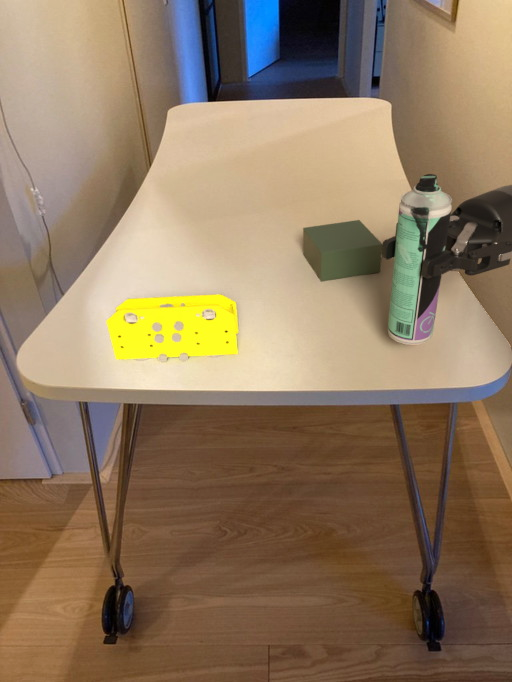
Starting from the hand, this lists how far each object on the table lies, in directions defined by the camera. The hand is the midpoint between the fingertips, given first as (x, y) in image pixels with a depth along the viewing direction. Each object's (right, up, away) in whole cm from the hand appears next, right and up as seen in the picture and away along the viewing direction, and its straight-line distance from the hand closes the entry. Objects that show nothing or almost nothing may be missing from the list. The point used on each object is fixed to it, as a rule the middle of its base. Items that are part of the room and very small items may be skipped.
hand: (404, 260), depth 62 cm
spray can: (+3, -8, +8) cm, 11 cm away
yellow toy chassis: (-27, -11, +12) cm, 32 cm away
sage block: (-3, +4, +30) cm, 31 cm away
